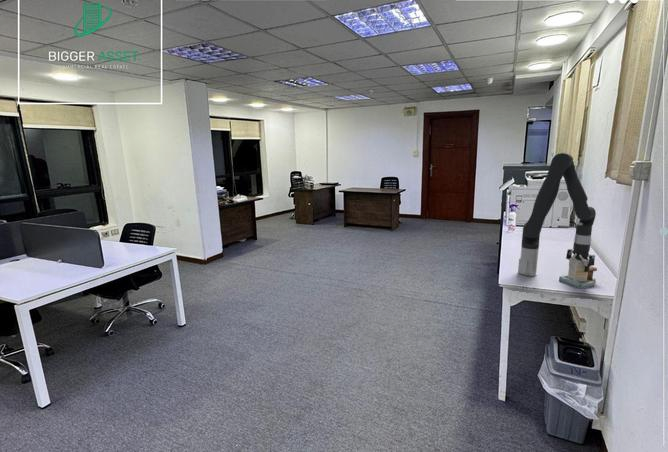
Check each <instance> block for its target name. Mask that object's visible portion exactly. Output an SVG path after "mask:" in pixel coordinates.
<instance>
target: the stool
mask: <svg viewBox="0 0 668 452" xmlns="http://www.w3.org/2000/svg"><path fill="white" fill-rule="evenodd" d="M597 271H598V268H597V267H595V266H590V268H589V271H588V276H587V282H591V281H594V282H595V283H596V281H597V280H596V279H595V278H594V277H593V276H594V272H597Z"/></svg>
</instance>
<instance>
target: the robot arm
mask: <svg viewBox="0 0 668 452" xmlns="http://www.w3.org/2000/svg"><path fill="white" fill-rule="evenodd" d="M562 178H563V179H564V182H565V185H566V189H567V193H568V196H569V197H570V199H571V202H572V205H573V211H574V214H575V216H576V217H577V219H578V220H579V222H578V223H577V225H576V227H575V228H576V229H575V233H574V234H575V235H574V238H573V244H572V245H573V246H572V247H573V248H570V249H567V250H566V257H565V259H567V260H568V263H569V262H570V259H579V260H582V261H583V262H584V264H585V265H586V266H585V269H584V272H588V271H589V268H590V266H592V267H594V266H595V262H596V261H595V260H596V258H595V257H596V254H589V252H590V249H591V243H592V242H591V241H592V232H593V225H594V222H595V220H596V214H597V213H596V210H595V208H594V207H592V206H589V204H588V195H587V194H586V192H585V189H584V187H583V185H582V183H581V181H580V179H579V177H578V173H577V170H576V167H575V162H574V157H573V156H572V155H571V154H569V153H566V152H559V153H557V154H555V155H554V156H553V157H552V159H551V161H550V165H549V168H548V172H547V175H546V176H545V179H544V181H543V182H542V185H540V186H541V187H540V188H539V190H538V193H537V195H536V197H535V201H534V204H533V207H532V211H531V214H530V217H529V218H528V220H527V222H525V223H524V224H523V227H522V236H521V248H520V258H518V267H517V274H520V275H523V276H524V277H535V276H537V269H538V261H539V260H538V258H539V248H540V237H541V231H542V228H543V226H544V225H543V224H544V222H545V219H546V217H547V216H548V213H550V210H551V208H552V207H553V205H554V203H555V200H556V199H557V197H558V193H559V191H560V190H559V189H560V186H561V181H562ZM585 259H586V260H585Z"/></svg>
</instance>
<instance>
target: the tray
mask: <svg viewBox="0 0 668 452" xmlns="http://www.w3.org/2000/svg"><path fill="white" fill-rule="evenodd" d="M558 281H559V282H562V283H565V284H567V285H569V286H573V287H575V288H578V289H581V290H583V289H588V288H592V287H595V284H596V281H595V282H594V281H591V282H576V281H573V280H570V279H568V274H565V275H561V276H559V279H558Z"/></svg>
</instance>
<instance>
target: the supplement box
mask: <svg viewBox="0 0 668 452" xmlns="http://www.w3.org/2000/svg"><path fill="white" fill-rule="evenodd" d="M585 260H586V259H585ZM585 266H586V265H585V264H584V262H583V261H582V260H579V259H570V262H569V261H568V273H567V275H568V279H570V280H573V281H576V282H587V276H588V272H584V269H585Z"/></svg>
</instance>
